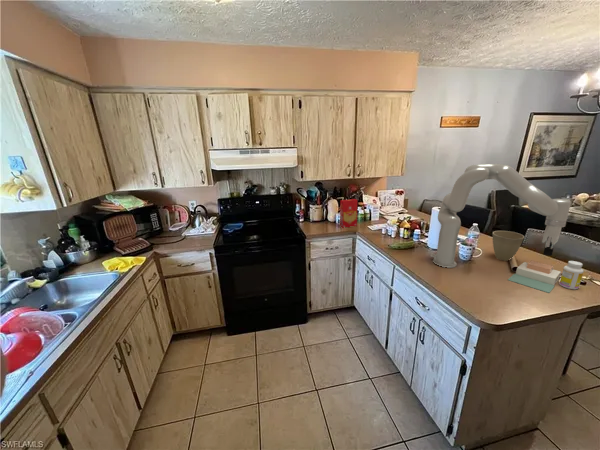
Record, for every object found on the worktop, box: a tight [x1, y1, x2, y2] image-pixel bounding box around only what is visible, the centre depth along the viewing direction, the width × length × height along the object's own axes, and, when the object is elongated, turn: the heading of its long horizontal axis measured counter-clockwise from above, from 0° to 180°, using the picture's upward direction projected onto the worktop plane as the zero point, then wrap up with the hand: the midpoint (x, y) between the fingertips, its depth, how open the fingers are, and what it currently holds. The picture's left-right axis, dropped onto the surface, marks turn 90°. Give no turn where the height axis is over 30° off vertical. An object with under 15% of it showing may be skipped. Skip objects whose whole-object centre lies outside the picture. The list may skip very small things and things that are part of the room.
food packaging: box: [339, 198, 358, 229], centre depth 228 cm, size 15×5×25 cm, turn 109°
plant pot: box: [492, 230, 525, 262], centre depth 153 cm, size 15×15×16 cm
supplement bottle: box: [559, 260, 584, 290], centre depth 121 cm, size 7×7×13 cm
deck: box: [515, 261, 562, 285], centre depth 132 cm, size 15×12×4 cm
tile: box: [527, 260, 554, 274], centre depth 132 cm, size 9×6×2 cm, turn 35°
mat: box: [507, 273, 556, 294], centre depth 127 cm, size 16×10×1 cm, turn 35°
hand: (547, 254), depth 135 cm, fingers closed
